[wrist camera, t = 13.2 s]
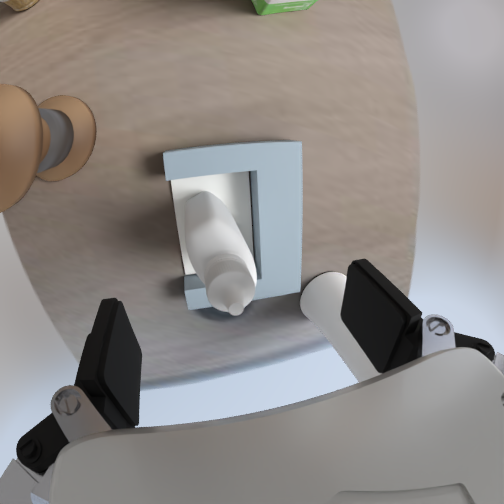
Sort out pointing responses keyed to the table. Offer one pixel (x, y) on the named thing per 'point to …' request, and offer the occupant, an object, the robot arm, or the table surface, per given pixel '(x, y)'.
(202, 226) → the eye dropper bottle
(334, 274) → the cosmetic bottle
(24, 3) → the sprinkles bottle
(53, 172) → the spool
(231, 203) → the notched board
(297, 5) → the ink box
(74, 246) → the table surface
